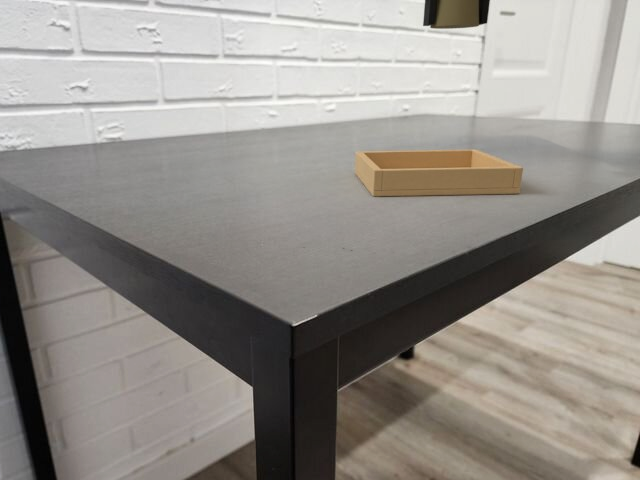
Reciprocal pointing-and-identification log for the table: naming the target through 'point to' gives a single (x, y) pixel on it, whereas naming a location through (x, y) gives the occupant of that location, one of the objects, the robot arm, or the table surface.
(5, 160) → the table surface
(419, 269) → the table surface
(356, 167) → the tray
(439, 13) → the olive pawn
